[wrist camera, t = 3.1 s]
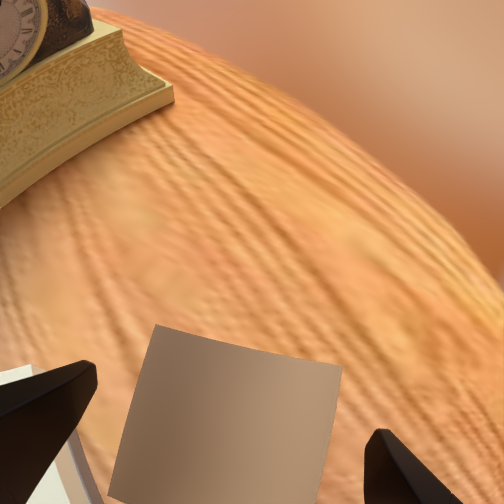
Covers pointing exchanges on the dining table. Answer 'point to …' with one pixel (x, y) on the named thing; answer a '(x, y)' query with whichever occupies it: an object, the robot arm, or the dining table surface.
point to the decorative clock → (63, 87)
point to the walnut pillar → (224, 425)
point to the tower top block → (62, 468)
